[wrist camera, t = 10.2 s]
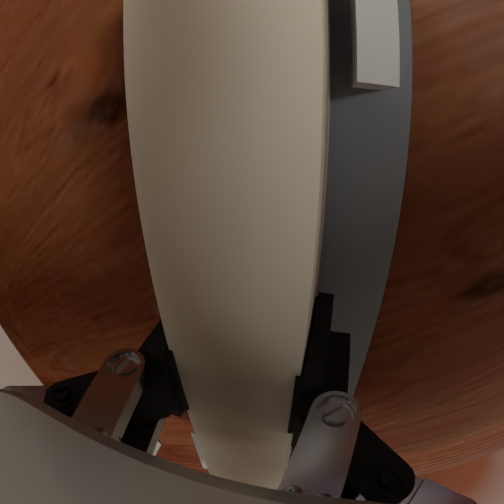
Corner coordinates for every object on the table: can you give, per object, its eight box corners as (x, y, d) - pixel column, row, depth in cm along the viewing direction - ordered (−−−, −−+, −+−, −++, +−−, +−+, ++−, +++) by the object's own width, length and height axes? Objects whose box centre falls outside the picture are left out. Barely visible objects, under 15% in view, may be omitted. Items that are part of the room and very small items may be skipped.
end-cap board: (399, -37, 7) (420, -86, 3) (330, 445, 19) (322, 493, 16) (166, -27, 9) (107, -55, 5) (209, 423, 21) (190, 465, 18)
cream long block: (328, -5, 7) (315, -75, 3) (292, 443, 17) (276, 505, 13) (211, 1, 7) (125, -41, 4) (238, 433, 18) (217, 492, 14)
